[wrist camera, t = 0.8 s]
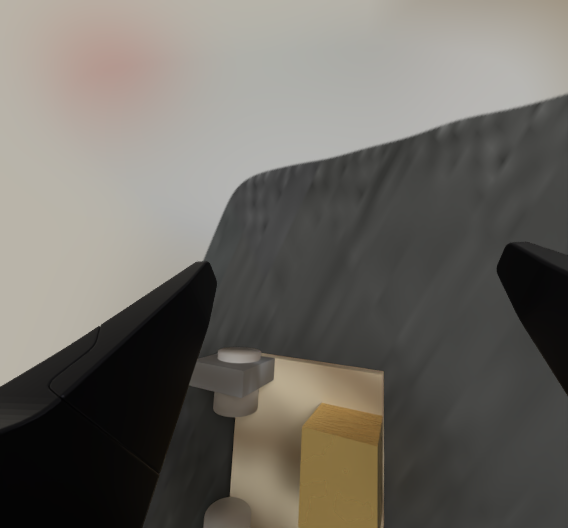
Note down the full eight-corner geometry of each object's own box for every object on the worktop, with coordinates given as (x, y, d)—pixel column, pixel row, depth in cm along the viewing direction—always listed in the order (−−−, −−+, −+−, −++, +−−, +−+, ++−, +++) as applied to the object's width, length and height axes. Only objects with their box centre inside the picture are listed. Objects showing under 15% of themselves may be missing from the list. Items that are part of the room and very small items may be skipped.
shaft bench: (384, 620, 16) (376, 760, 11) (221, 536, 21) (165, 606, 16) (383, 363, 18) (377, 385, 13) (235, 343, 23) (190, 353, 18)
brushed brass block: (382, 503, 16) (377, 561, 12) (319, 481, 18) (298, 527, 14) (382, 415, 17) (377, 446, 13) (321, 402, 18) (302, 426, 15)
